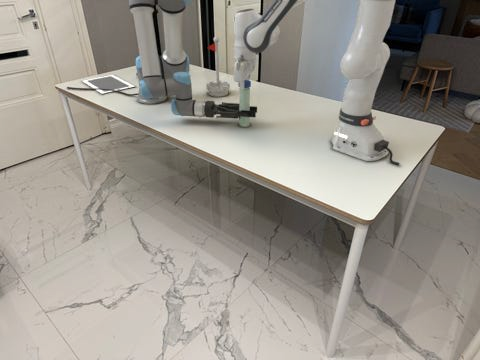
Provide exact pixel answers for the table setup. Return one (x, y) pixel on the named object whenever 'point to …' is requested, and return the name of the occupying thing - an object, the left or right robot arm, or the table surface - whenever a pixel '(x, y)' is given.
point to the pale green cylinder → (244, 105)
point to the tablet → (108, 84)
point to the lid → (246, 84)
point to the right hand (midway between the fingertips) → (244, 86)
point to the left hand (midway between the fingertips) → (256, 111)
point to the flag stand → (217, 76)
